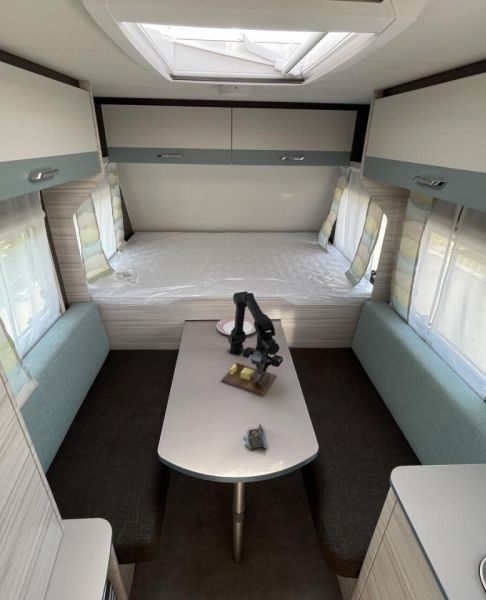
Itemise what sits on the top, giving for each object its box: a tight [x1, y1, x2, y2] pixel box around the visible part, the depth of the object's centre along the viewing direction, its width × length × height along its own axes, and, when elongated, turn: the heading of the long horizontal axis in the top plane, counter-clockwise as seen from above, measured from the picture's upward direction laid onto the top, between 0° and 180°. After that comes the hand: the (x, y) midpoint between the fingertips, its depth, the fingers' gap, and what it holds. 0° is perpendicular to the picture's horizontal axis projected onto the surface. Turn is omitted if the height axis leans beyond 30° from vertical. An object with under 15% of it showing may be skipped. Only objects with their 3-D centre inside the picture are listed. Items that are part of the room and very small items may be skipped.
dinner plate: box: [216, 315, 256, 336], centre depth 212 cm, size 27×27×3 cm
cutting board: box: [221, 362, 276, 396], centre depth 163 cm, size 22×16×4 cm
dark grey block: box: [256, 364, 265, 383], centre depth 158 cm, size 3×8×8 cm, turn 152°
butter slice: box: [229, 363, 237, 375], centre depth 166 cm, size 2×4×3 cm, turn 152°
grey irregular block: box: [244, 423, 267, 450], centre depth 127 cm, size 10×7×12 cm
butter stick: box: [241, 368, 254, 380], centre depth 163 cm, size 5×4×3 cm
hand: (261, 371), depth 158 cm, fingers closed on dark grey block, 3 cm apart
